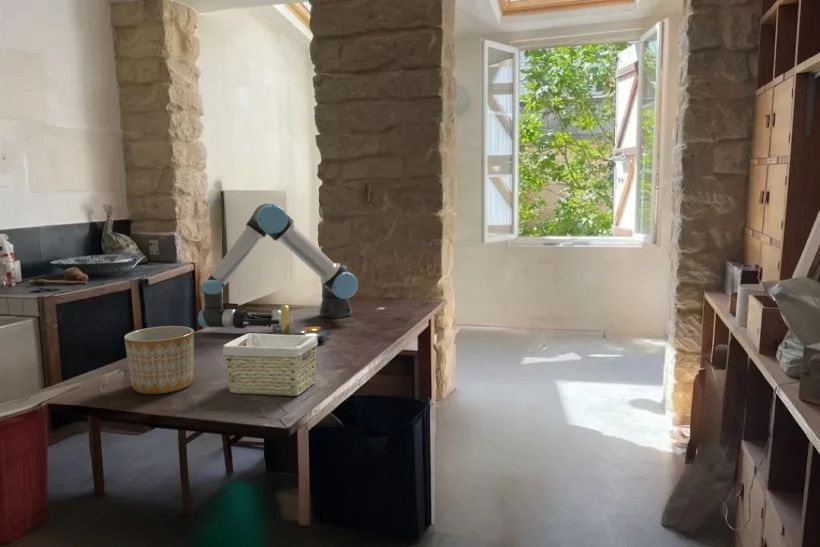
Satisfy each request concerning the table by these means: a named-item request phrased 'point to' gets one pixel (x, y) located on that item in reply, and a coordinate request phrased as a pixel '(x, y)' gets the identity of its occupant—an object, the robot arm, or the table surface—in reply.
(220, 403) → the table surface
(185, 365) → the planter
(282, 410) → the table surface
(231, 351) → the storage basket
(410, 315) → the table surface
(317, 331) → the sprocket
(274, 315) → the roller
